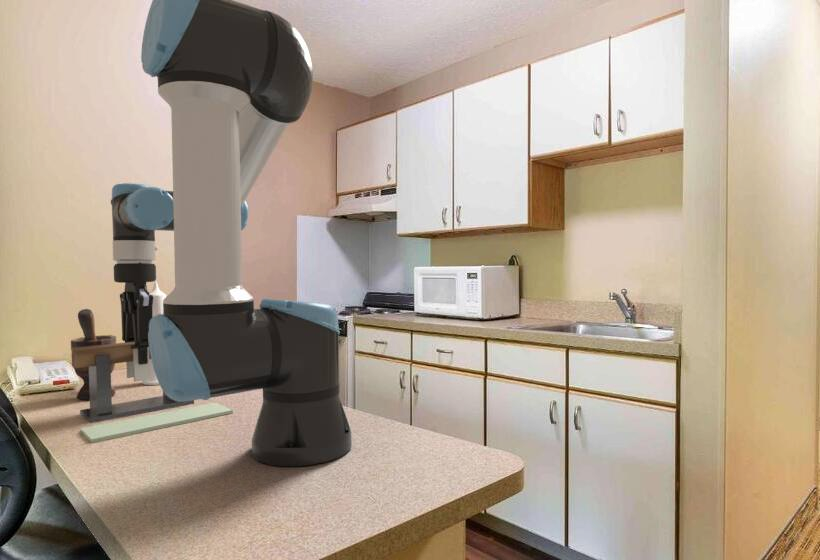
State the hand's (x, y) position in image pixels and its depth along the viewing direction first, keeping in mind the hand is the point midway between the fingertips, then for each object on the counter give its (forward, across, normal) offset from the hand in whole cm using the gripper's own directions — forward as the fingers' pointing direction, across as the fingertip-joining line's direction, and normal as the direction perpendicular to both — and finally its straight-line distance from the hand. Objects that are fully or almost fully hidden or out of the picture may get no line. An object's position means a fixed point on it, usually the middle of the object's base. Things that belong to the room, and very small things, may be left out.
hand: (138, 378), depth 106 cm
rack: (+6, 0, 0) cm, 6 cm away
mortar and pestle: (+6, +16, +4) cm, 18 cm away
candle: (+6, +23, -11) cm, 26 cm away
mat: (+6, -13, 0) cm, 14 cm away
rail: (-4, 0, 0) cm, 4 cm away
